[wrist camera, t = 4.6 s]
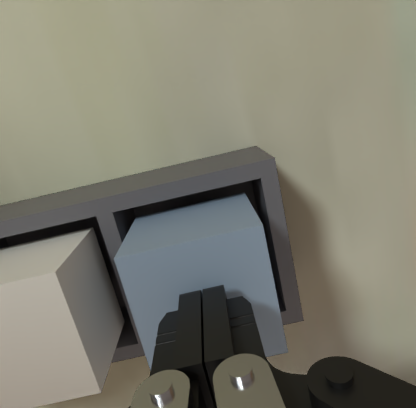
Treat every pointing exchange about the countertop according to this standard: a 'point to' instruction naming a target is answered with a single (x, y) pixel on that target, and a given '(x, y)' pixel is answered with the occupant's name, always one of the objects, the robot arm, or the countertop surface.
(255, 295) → the slate key
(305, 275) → the countertop surface
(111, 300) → the white key
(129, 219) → the key panel
